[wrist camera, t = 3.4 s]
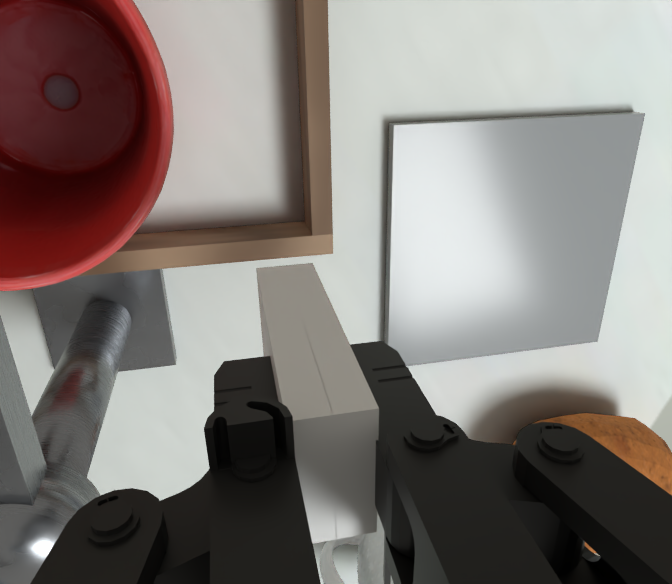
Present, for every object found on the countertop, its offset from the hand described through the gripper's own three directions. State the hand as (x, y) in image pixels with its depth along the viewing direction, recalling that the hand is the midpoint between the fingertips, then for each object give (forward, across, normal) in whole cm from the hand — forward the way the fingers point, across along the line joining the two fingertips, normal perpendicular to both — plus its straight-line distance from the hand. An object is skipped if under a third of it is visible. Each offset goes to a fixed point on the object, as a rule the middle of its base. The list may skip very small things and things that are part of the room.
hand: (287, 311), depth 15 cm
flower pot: (+14, -8, +5) cm, 17 cm away
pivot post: (+14, -8, -6) cm, 17 cm away
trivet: (+14, +14, -4) cm, 20 cm away
